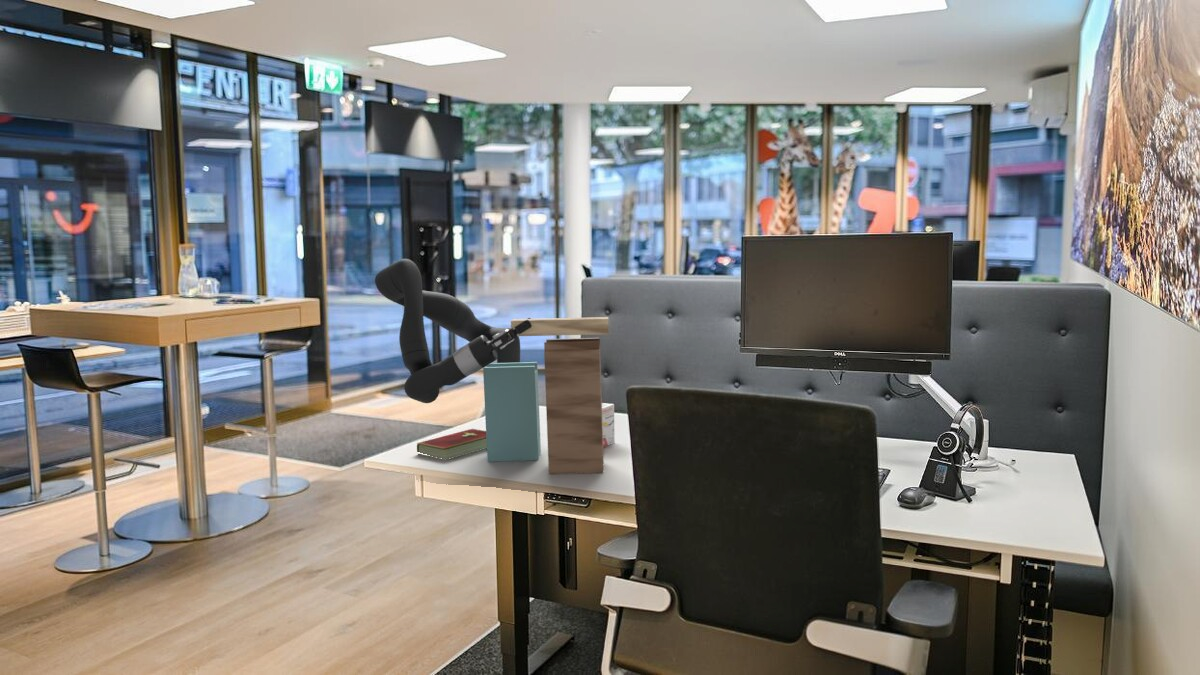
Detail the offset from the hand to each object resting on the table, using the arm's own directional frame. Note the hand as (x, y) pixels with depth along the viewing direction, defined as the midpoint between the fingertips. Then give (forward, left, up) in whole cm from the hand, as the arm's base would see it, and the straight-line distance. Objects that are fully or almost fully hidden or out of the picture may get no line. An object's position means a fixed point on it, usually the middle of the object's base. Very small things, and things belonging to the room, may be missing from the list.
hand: (530, 321), depth 223 cm
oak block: (0, +8, -3) cm, 8 cm away
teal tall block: (-13, -7, -39) cm, 42 cm away
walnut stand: (0, +11, -39) cm, 40 cm away
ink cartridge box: (-24, +17, -39) cm, 49 cm away
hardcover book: (-23, -25, -40) cm, 52 cm away
